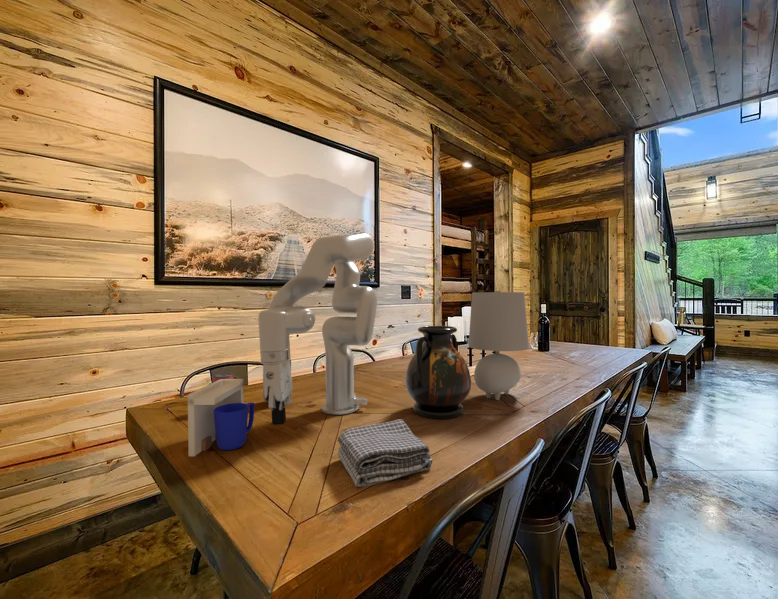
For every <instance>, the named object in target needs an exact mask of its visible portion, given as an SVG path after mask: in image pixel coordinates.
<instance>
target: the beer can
mask: <svg viewBox="0 0 778 599" xmlns="http://www.w3.org/2000/svg"><path fill="white" fill-rule="evenodd" d="M233 376H234V375H233V373H230V372H229V373H228V372H223V373H218V374H215V375H214V378H213V380H212V381H213V382H216V381H218V380H220V379H235V378H234V377H233ZM213 382H212V383H213Z"/></svg>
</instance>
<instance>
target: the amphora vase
mask: <svg viewBox="0 0 778 599" xmlns="http://www.w3.org/2000/svg"><path fill="white" fill-rule="evenodd" d="M417 331H418V332H419V333H421V334H422V335H423V336H420V337H419V338H418V339H417V342H416V347H415V354H414V355H413V356H412V357H411V359H410V361H409V362H408V365H407V369H406V371H405V372H406V373H405V378H404V379H405V388H406V392H408V394H409V397H411V399H412V400H413V401H414V404H413V406H412V408H413V411H414V412H415V413H416V414H417V415H419V416H422V417H425V418H428V417H429V418H430V419H436V418H438V419H439V420H441V419H442V420H443V419H444V418H446V419H451V418H452V419H453V418H455V417H458V416H459V415H461V414H462V413H463V412H464V406H463V405H462V403H463V402H464V401H465V400H466V399H467V397H468V396H469V394H470V391H471V388H472V386H471V385H472V380H471V379H472V378H471V373H470V369H469V366H468V364H467V362H466V360H465V358H464V357H463V356H462V354H460V353H459V351H458V340H457V337H456V335H455V334H454V333H456V332H458V328H457V327H455V326H451V325H450V326H449V325H426V326H420V327H418V328H417ZM438 419H437V420H438Z"/></svg>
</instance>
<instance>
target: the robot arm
mask: <svg viewBox="0 0 778 599" xmlns="http://www.w3.org/2000/svg"><path fill="white" fill-rule="evenodd" d="M374 245H375V244H374V240H373V239H372V237H371V236H370V235H369V234H368V233H364V232H362V233H351V234H342V235H332V236H331V235H330V236H323V237H319V238H317V239H316V240H315V241H314V242H313V244H311V247H310V249H309V252H308V253H307V256H306V258H305V260H304V261H303V264H302V266H301V268H300V270H299V272H298V273H297V274H296V275H295V276H294V277H292V278H291V279H289V281H287V282H286V283H285V284H284V285H283V286H282V287H281V288H280V289H279V290H278V291H277V292H276V293H275V295H274V297H273V298H272V300H271V302H270V304H269V306H268V307H267V308H268V309H265V310H264V309H263V310H261V311H260V312H259V313H258V333H259V334H258V335H259V338H258V339H259V350H260V351H259V352H260V353H259V354H260V364H262V366H263V367H262V394H263V401H264V402H265V403H268V401H269V403H268V409H270V411H271V423H272V425H273V426H280V425H281V426H284V424H285V423H286V422H287V420H286V418H287V417H286V412H287V411H286V405H285V399H286V398H287V397H288V396H289V394H290V393H291V394H292V392H293V380H292V379H293V377H292V367H291V368H290V362H289V361H290V360H291V361H292V359H291V344H290V342H291V341H290V335H291V334H304V333H305V334H306V333H307V332H309V331H311V329H313V327H314V326H315V323H316V316H315V313H314V312H313V310H311V308H308V307H306V306H301V305H299V306H298V305H297V306H295V304H296V303H297V302H298V301H300V300H301V299H303V298H304V297H306V296H307V295H310V294H312V293H315V292H317V291H319V290H321V289H322V288H323V287H325V286H326V283H327V282H328V279H329V276H330V273H331V271H332V268H333V267H334V269H335V274H336V275H335V281H334V287H333V292H332V293H333V294H332V299H331V308H332V310H334V312H336V313H339V314H346V315H347V314H350V315H352V314H353V315H355V314H356V316H342V315H341V316H331V317H328V318H327V319H325V320H324V322H323V324H322V328H321V332H322V334H321V335H322V339H323V342H324V351H325V352H324V353H325V354H324V355H325V403H324V404H322V405H321V412H323V413H324V414H326V415H333V416H334V415H335V416H337V415H341V416H342V415H348V414H352V413H355V412H357V411H358V410H359V408H360V407H359V406H360V405H366V406H367V405H368V398H365V397H358V396H356V395H357V394H356V393H355V377H354V376H355V366H354V365H355V364H354V363H355V360H354V354H353V351H352V349H351V348H350V346H356V347H359V346H360V347H361V346H367V345H369V343H370V342H371V340H372V338H373V333H374V328H375V322H376V320H375V319H376V314H377V307H378V298H377V295H376V293H377V292H376V291H375V289H374V288H372V287H370V286H368V285H360V281H361V272H360V270H359V268H358V266H356V265H357V264H356V263H355V262H358V261H360V260H361V261H362V260H365V259H368V258H369V257H370V256H372V254H373V252H374V247H375V246H374Z"/></svg>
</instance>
